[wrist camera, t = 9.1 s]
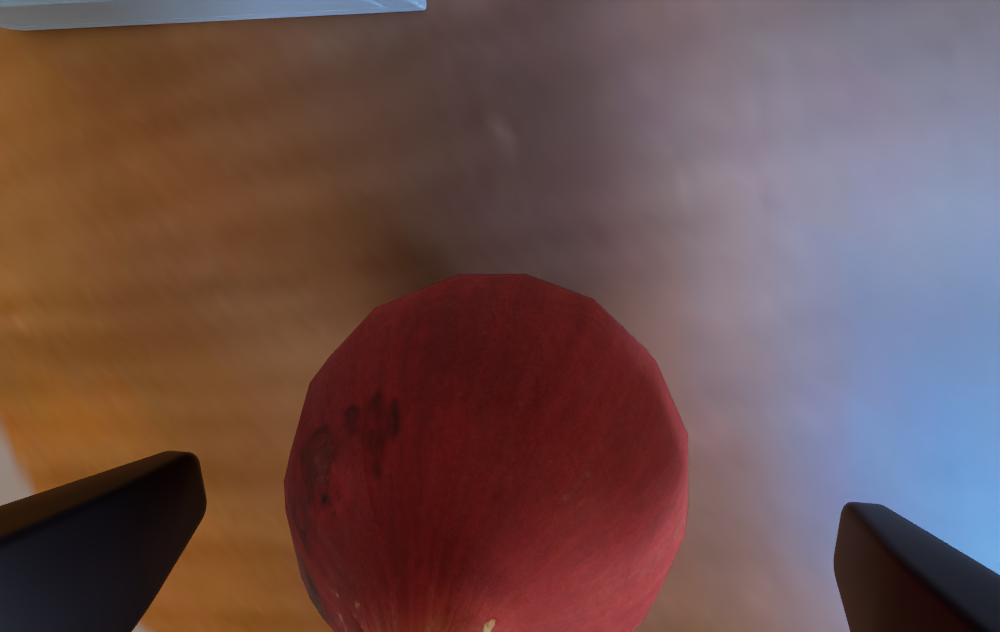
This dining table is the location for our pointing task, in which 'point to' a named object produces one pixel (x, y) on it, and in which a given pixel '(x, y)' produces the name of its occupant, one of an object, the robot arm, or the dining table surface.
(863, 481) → the dining table surface
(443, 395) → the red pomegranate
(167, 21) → the divided blue tray
